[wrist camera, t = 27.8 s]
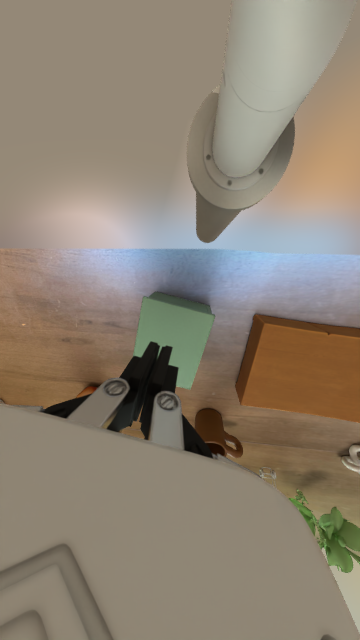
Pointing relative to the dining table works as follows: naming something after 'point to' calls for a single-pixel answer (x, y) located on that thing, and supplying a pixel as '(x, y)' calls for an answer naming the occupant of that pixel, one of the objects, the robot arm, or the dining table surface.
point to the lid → (174, 335)
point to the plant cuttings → (330, 533)
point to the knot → (352, 459)
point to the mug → (216, 434)
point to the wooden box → (302, 368)
